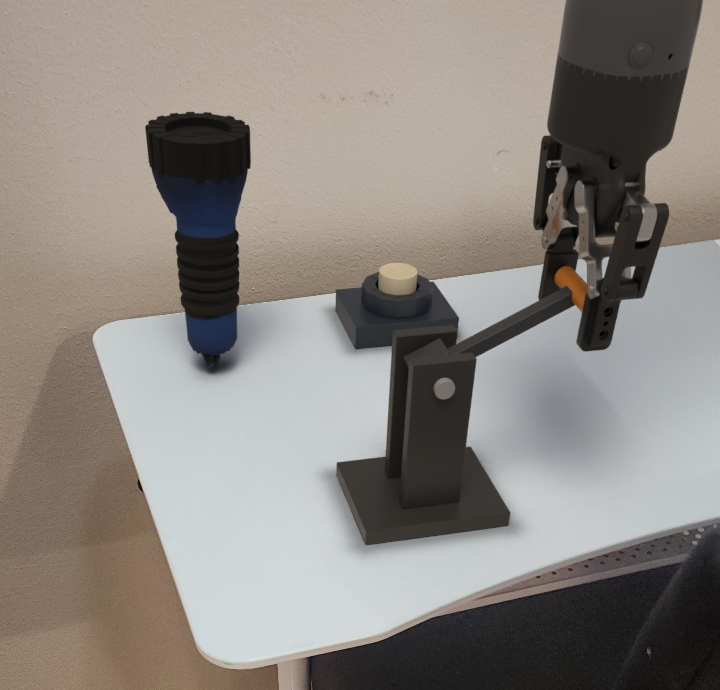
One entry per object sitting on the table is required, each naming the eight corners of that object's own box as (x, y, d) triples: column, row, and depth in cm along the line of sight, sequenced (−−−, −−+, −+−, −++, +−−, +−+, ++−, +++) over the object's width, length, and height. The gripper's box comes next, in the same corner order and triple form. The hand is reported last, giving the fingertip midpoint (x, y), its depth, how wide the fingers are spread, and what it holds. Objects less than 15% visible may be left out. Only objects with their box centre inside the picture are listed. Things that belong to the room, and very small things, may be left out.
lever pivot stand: (469, 458, 80) (488, 307, 71) (508, 525, 74) (535, 369, 65) (336, 474, 78) (339, 320, 69) (365, 545, 72) (372, 385, 63)
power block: (431, 302, 100) (435, 263, 98) (457, 339, 95) (461, 299, 92) (335, 310, 98) (335, 271, 96) (355, 349, 93) (356, 308, 90)
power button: (410, 279, 96) (411, 261, 94) (421, 295, 93) (422, 277, 92) (373, 282, 95) (374, 264, 94) (383, 298, 92) (384, 280, 91)
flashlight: (249, 339, 94) (238, 106, 80) (269, 380, 88) (261, 139, 74) (163, 349, 92) (137, 112, 78) (178, 392, 86) (153, 146, 72)
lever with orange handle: (577, 285, 70) (569, 255, 68) (607, 317, 66) (600, 287, 64) (409, 373, 71) (397, 346, 69) (430, 410, 68) (418, 382, 66)
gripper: (747, 84, 53) (669, 371, 65) (629, 18, 63) (580, 276, 75) (618, 90, 51) (562, 382, 63) (518, 21, 61) (485, 284, 73)
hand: (572, 324), depth 69 cm, fingers open, 6 cm apart
